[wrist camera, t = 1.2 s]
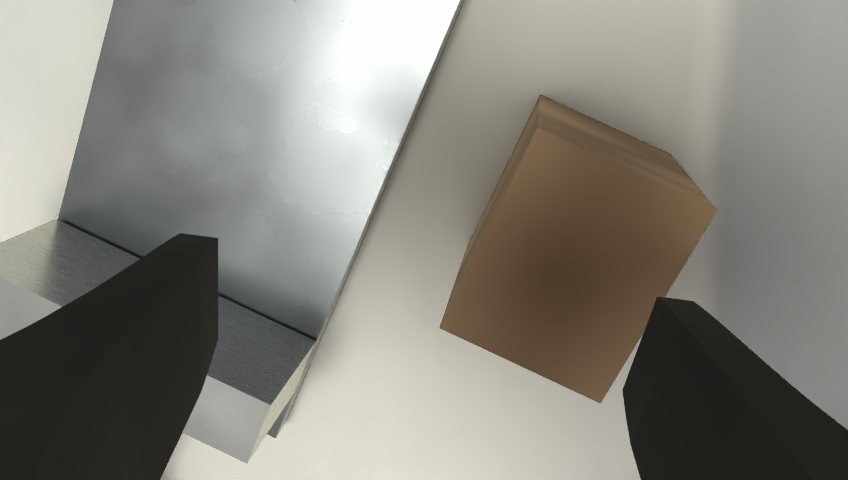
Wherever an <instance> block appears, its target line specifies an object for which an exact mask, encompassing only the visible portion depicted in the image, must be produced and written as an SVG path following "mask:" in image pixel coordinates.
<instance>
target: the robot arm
mask: <svg viewBox="0 0 848 480" xmlns="http://www.w3.org/2000/svg"><path fill="white" fill-rule="evenodd" d="M217 342H218V238H214V237H207V236H199V235H192V234H184V233H179V234H177V235H176V236H174V237H172V238H171V239H169V240H168V241H166V242H165V243H163V244H162V245H160V246H159V247H157V248H156V249H154V250H153V251H151V252H150V253H148V254H147V255H145V256H144V257H142V258H141V259H139V260H138V261H136V262H135V263H133V264H132V265H130V266H129V267H127V268H125V269H124V270H122V271H121V272H119V273H118V274H116V275H114V276H113V277H111V278H110V279H108V280H107V281H105V282H104V283H102V284H100V285H99V286H97V287H96V288H94V289H92V290H91V291H89V292H87V293H86V294H84V295H82V296H80V297H79V298H77V299H75V300H73V301H72V302H70V303H68V304H66V305H65V306H63V307H61V308H59V309H58V310H56V311H54V312H52V313H51V314H49V315H47V316H45V317H44V318H42V319H40V320H38V321H37V322H35V323H33V324H31V325H29V326H27V327H25V328H23V329H21V330H19V331H17V332H15V333H13V334H11V335H9V336H7V337H5V338H3V339H1V340H0V480H160V478H161V476H162V474H163V472H164V470H165V467H166V465H167V463H168V461H169V459H170V457H171V455H172V453H173V451H174V449H175V447H176V445H177V442H178V440H179V438H180V436H181V434H182V432H183V430H184V428H185V426H186V424H187V421H188V419H189V417H190V415H191V413H192V411H193V409H194V407H195V405H196V402H197V400H198V398H199V396H200V394H201V391H202V388H203V385H204V382H205V379H206V376H207V373H208V370H209V367H210V364H211V361H212V358H213V354H214V351H215V348H216V345H217ZM623 397H624V405H625V412H626V419H627V425H628V431H629V437H630V443H631V447H632V450H633V454H634V458H635V461H636V464H637V468H638V471H639V474H640V478H641V480H848V430H847V429H845V428H844V427H843V426H841V425H840V424H839V423H838V422H836V421H835V420H834V419H833V418H831V417H830V416H829V415H827V414H826V413H825V412H824V411H822V410H821V409H820V408H819V407H817V406H816V405H815V404H814V403H812V402H811V401H810V400H809V399H807V398H806V397H805V396H804V395H803V394H801V393H800V392H799V391H798V390H796V389H795V388H794V387H793V386H792V385H791V384H789V383H788V382H787V381H786V380H785V379H783V378H782V377H781V376H780V375H779V374H778V373H777V372H775V371H774V370H773V369H772V368H771V367H770V366H768V365H767V364H766V363H765V362H764V361H763V360H762V359H760V358H759V357H758V356H757V355H756V354H755V353H754V352H753V351H751V350H750V349H749V348H748V347H747V346H746V345H745V344H744V343H742V342H741V341H740V340H739V339H738V338H737V337H736V336H735V335H733V334H732V333H731V332H730V331H729V330H728V329H727V328H725V327H724V326H723V325H722V324H721V323H720V322H719V321H717V320H716V319H715V318H714V317H713V316H711V315H710V314H709V313H708V312H707V311H705V310H704V309H703V308H702V307H700V306H699V305H698V304H696V303H695V302H693V301H687V300H679V299H672V298H664V297H657V298H656V301H655V304H654V306H653V309H652V312H651V314H650V317H649V320H648V323H647V325H646V328H645V331H644V333H643V336H642V339H641V342H640V344H639V347H638V350H637V352H636V355H635V358H634V361H633V363H632V366H631V369H630V371H629V374H628V377H627V380H626V382H625V385H624V388H623Z"/></svg>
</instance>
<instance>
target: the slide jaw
mask: <svg viewBox="0 0 848 480" xmlns="http://www.w3.org/2000/svg"><path fill="white" fill-rule="evenodd" d="M139 259H140V258H138V257H136V256H134V255H132V254H129V253H127V252H125V251H123V250H121V249H119V248H117V247H115V246H112V245H110V244H108V243H106V242H104V241H102V240H100V239H98V238H95V237H93V236H91V235H89V234H87V233H85V232H83V231H81V230H78V229H76V228H74V227H72V226H70V225H68V224H66V223H64V222H61V221H59V220H57V219H55V220H53V221H50V222H48V223H46V224H43V225H41V226H39V227H36V228H34V229H32V230H29V231H27V232H25V233H22V234H20V235H18V236H15V237H13V238H11V239H8V240H6V241H4V242H1V243H0V340H1V339H3V338H5V337H7V336H9V335H11V334H13V333H15V332H17V331H19V330H21V329H23V328H25V327H27V326H29V325H31V324H33V323H35V322H37V321H38V320H40V319H42V318H44V317H45V316H47V315H49V314H51V313H52V312H54V311H56V310H58V309H59V308H61V307H63V306H65V305H66V304H68V303H70V302H72V301H73V300H75V299H77V298H79V297H80V296H82V295H84V294H86V293H87V292H89V291H91V290H92V289H94V288H96V287H97V286H99V285H100V284H102V283H104V282H105V281H107V280H108V279H110V278H111V277H113V276H114V275H116V274H118V273H119V272H121V271H122V270H124V269H125V268H127V267H129V266H130V265H132V264H133V263H135V262H136V261H138V260H139ZM315 342H316V341H314V340H312V339H310V338H308V337H306V336H304V335H302V334H299V333H297V332H295V331H293V330H291V329H289V328H287V327H285V326H282V325H280V324H278V323H276V322H274V321H272V320H270V319H268V318H265V317H263V316H261V315H259V314H257V313H255V312H253V311H251V310H248V309H246V308H244V307H242V306H240V305H238V304H236V303H234V302H231V301H229V300H227V299H225V298H223V297H221V296H219V295H218V342H217V345H216V348H215V351H214V354H213V358H212V361H211V364H210V367H209V370H208V373H207V376H206V379H205V382H204V385H203V388H202V391H201V394H200V396H199V398H198V400H197V402H196V405H195V407H194V409H193V411H192V413H191V415H190V417H189V419H188V421H187V424H186V426H185V428H184V430H183V432H182V433H184V434H186V435H189V436H191V437H193V438H195V439H197V440H199V441H201V442H203V443H205V444H207V445H210V446H212V447H214V448H216V449H218V450H220V451H222V452H224V453H226V454H229V455H231V456H233V457H235V458H237V459H239V460H241V461H243V462H245V463H248V461H249V460H250V458H251V457H252V455H253V454H254V452H255V451H256V449H257V448H258V446H259V445H260V443H261V442H262V440H263V439H264V437H265V436H266V434H267V433H268V431H269V430H270V428H271V427H272V425H273V424H274V422H275V421H276V419H277V418H278V416H279V415H280V413H281V412H282V410H283V409H284V407H285V406H286V404H287V403H288V401H289V400H290V398H291V397H292V395H293V394H294V392H295V390H296V387H297V385H298V383H299V380H300V378H301V376H302V373H303V371H304V368H305V366H306V364H307V361H308V359H309V357H310V354H311V352H312V349H313V347H314V345H315Z"/></svg>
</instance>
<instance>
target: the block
mask: <svg viewBox="0 0 848 480" xmlns="http://www.w3.org/2000/svg"><path fill="white" fill-rule="evenodd" d="M716 211H717V209H716V208H715V207H714V206H713V205H712V203H711V202H710V201H709V200H708V199H707V197H706V196H705V195H704V194H703V193H702V191H701V190H700V189H699V188H698V187H697V185H696V184H695V183H694V182H693V181H692V179H691V178H690V177H689V176H688V175H687V173H686V172H685V171H684V170H683V169H682V167H681V166H680V165H679V164H678V163H677V161H676V160H675V159H674V158H673V157H672V155H671V154H668V153H666V152H664V151H662V150H660V149H658V148H655V147H653V146H651V145H649V144H647V143H645V142H642V141H640V140H638V139H636V138H634V137H631V136H629V135H627V134H625V133H623V132H621V131H618V130H616V129H614V128H612V127H610V126H608V125H605V124H603V123H601V122H599V121H597V120H594V119H592V118H590V117H588V116H586V115H584V114H581V113H579V112H577V111H575V110H573V109H571V108H568V107H566V106H564V105H562V104H560V103H557V102H555V101H553V100H551V99H549V98H547V97H544V96H542V95H540V97H539V99H538V101H537V103H536V105H535V107H534V109H533V111H532V113H531V115H530V117H529V119H528V122H527V124H526V126H525V128H524V130H523V132H522V134H521V136H520V138H519V140H518V142H517V144H516V146H515V149H514V151H513V153H512V155H511V157H510V159H509V161H508V163H507V165H506V167H505V169H504V171H503V173H502V176H501V178H500V180H499V182H498V184H497V186H496V188H495V190H494V192H493V194H492V196H491V198H490V200H489V203H488V205H487V207H486V209H485V211H484V213H483V215H482V217H481V219H480V221H479V223H478V225H477V227H476V230H475V232H474V234H473V236H472V238H471V240H470V242H469V244H468V246H467V249H466V252H465V255H464V258H463V261H462V263H461V266H460V269H459V272H458V275H457V278H456V281H455V284H454V287H453V290H452V293H451V296H450V299H449V302H448V304H447V307H446V310H445V313H444V316H443V319H442V322H441V325H440V328H441V329H443V330H445V331H447V332H449V333H451V334H453V335H456V336H458V337H460V338H462V339H464V340H466V341H468V342H470V343H473V344H475V345H477V346H479V347H481V348H483V349H485V350H488V351H490V352H492V353H494V354H496V355H498V356H500V357H503V358H505V359H507V360H509V361H511V362H513V363H515V364H518V365H520V366H522V367H524V368H526V369H528V370H530V371H532V372H535V373H537V374H539V375H541V376H543V377H545V378H547V379H550V380H552V381H554V382H556V383H558V384H560V385H562V386H565V387H567V388H569V389H571V390H573V391H575V392H577V393H579V394H582V395H584V396H586V397H588V398H590V399H592V400H594V401H597V402H599V403H601V402H602V400H603V398H604V397H605V395H606V393H607V392H608V390H609V388H610V387H611V385H612V383H613V382H614V380H615V378H616V377H617V375H618V373H619V372H620V370H621V368H622V367H623V365H624V364H625V362H626V360H627V359H628V357H629V355H630V354H631V352H632V350H633V349H634V347H635V345H636V344H637V342H638V340H639V339H640V337H641V335H642V334H643V332H644V330H645V328H646V325H647V323H648V320H649V317H650V314H651V312H652V309H653V306H654V304H655V301H656V298H657V297H665V296H666V294H667V292H668V291H669V289H670V287H671V286H672V284H673V283H674V281H675V279H676V278H677V276H678V274H679V273H680V271H681V269H682V268H683V266H684V264H685V263H686V261H687V259H688V258H689V256H690V254H691V253H692V251H693V249H694V248H695V246H696V245H697V243H698V241H699V240H700V238H701V236H702V235H703V233H704V231H705V230H706V228H707V226H708V225H709V223H710V221H711V220H712V218H713V216H714V215H715V213H716Z"/></svg>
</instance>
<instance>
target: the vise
mask: <svg viewBox="0 0 848 480" xmlns="http://www.w3.org/2000/svg"><path fill="white" fill-rule="evenodd" d="M463 2H464V0H114V2H113V6H112V10H111V14H110V18H109V22H108V25H107V29H106V33H105V37H104V41H103V45H102V49H101V53H100V57H99V61H98V65H97V69H96V72H95V76H94V80H93V84H92V88H91V92H90V96H89V100H88V104H87V108H86V112H85V115H84V119H83V123H82V127H81V131H80V135H79V139H78V143H77V147H76V151H75V155H74V159H73V162H72V166H71V170H70V174H69V178H68V182H67V186H66V190H65V194H64V198H63V202H62V205H61V209H60V213H59V217H58V220H59V221H61V222H64V223H66V224H68V225H70V226H72V227H74V228H76V229H78V230H81V231H83V232H85V233H87V234H89V235H91V236H93V237H95V238H98V239H100V240H102V241H104V242H106V243H108V244H110V245H112V246H115V247H117V248H119V249H121V250H123V251H125V252H127V253H129V254H132V255H134V256H136V257H138V258H140V259H141V258H142V257H144V256H145V255H147V254H148V253H150V252H151V251H153V250H154V249H156V248H157V247H159V246H160V245H162V244H163V243H165V242H166V241H168V240H169V239H171V238H172V237H174V236H176V235H177V234H179V233H184V234H192V235H199V236H207V237H214V238H218V295H219V296H221V297H223V298H225V299H227V300H229V301H231V302H234V303H236V304H238V305H240V306H242V307H244V308H246V309H248V310H251V311H253V312H255V313H257V314H259V315H261V316H263V317H265V318H268V319H270V320H272V321H274V322H276V323H278V324H280V325H282V326H285V327H287V328H289V329H291V330H293V331H295V332H297V333H299V334H302V335H304V336H306V337H308V338H310V339H312V340H314V341H316V342H315V345H314V347H313V349H312V352H311V354H310V357H309V359H308V361H307V364H306V366H305V368H304V371H303V373H302V376H301V378H300V380H299V383H298V385H297V387H296V390H295V392H294V394H293V395H292V397H291V398H290V400H289V401H288V403H287V404H286V406H285V407H284V409H283V410H282V412H281V413H280V415H279V416H278V418H277V419H276V421H275V422H274V424H273V425H272V427H271V428H270V430H269V431H268V433H267V434H268V435H270V436H272V437H274V438H276V437H277V435H278V434H279V432H280V430H281V429H282V427H283V426H284V424H285V423H286V421H287V418H288V416H289V413H290V411H291V409H292V406H293V404H294V402H295V399H296V397H297V395H298V392H299V390H300V387H301V385H302V383H303V380H304V378H305V376H306V373H307V371H308V368H309V366H310V364H311V361H312V359H313V357H314V354H315V352H316V350H317V347H318V345H319V342H320V340H321V338H322V335H323V333H324V331H325V328H326V326H327V324H328V321H329V319H330V316H331V314H332V312H333V309H334V307H335V305H336V302H337V300H338V298H339V295H340V293H341V290H342V288H343V286H344V283H345V281H346V279H347V276H348V274H349V271H350V269H351V267H352V264H353V262H354V260H355V257H356V255H357V253H358V250H359V248H360V245H361V243H362V241H363V238H364V236H365V234H366V231H367V229H368V227H369V224H370V222H371V219H372V217H373V215H374V212H375V210H376V208H377V205H378V203H379V201H380V198H381V196H382V193H383V191H384V189H385V186H386V184H387V182H388V179H389V177H390V174H391V172H392V170H393V167H394V165H395V163H396V160H397V158H398V156H399V153H400V151H401V148H402V146H403V144H404V141H405V139H406V137H407V134H408V132H409V130H410V127H411V125H412V122H413V120H414V118H415V115H416V113H417V111H418V108H419V106H420V103H421V101H422V99H423V96H424V94H425V92H426V89H427V87H428V85H429V82H430V80H431V77H432V75H433V73H434V70H435V68H436V66H437V63H438V61H439V59H440V56H441V54H442V51H443V49H444V47H445V44H446V42H447V40H448V37H449V35H450V33H451V30H452V28H453V25H454V23H455V21H456V18H457V16H458V14H459V11H460V9H461V6H462V4H463Z"/></svg>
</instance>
